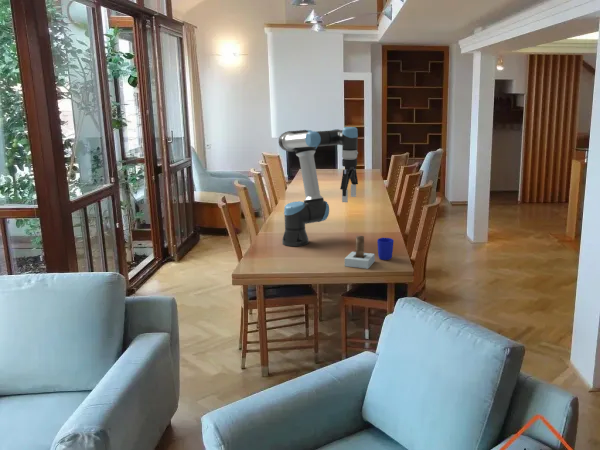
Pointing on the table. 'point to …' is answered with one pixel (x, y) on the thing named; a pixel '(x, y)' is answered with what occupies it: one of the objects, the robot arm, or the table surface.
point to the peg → (359, 246)
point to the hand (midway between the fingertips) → (349, 199)
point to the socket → (360, 260)
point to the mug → (385, 248)
